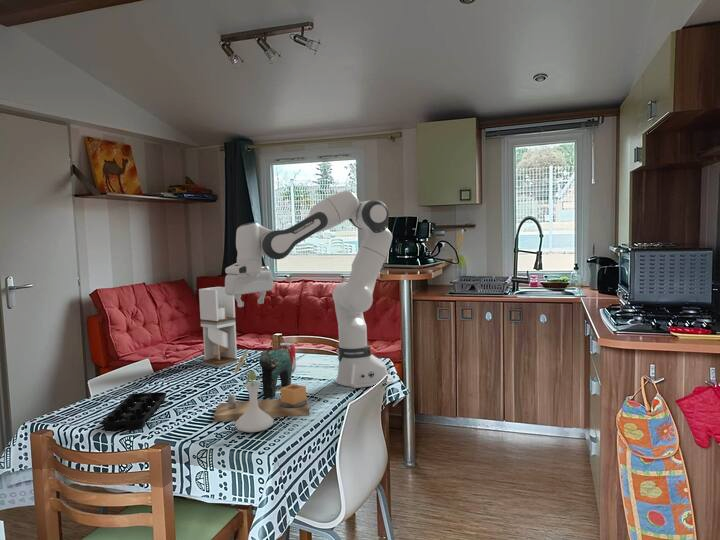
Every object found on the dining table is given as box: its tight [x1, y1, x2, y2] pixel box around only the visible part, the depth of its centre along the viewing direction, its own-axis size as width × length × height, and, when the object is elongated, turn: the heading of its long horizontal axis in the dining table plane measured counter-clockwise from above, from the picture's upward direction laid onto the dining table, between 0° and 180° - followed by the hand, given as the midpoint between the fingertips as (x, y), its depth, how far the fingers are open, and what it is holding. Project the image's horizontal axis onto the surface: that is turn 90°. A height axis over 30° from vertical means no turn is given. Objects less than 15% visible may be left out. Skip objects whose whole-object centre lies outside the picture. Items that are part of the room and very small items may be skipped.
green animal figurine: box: [259, 339, 293, 399], centre depth 191 cm, size 20×6×20 cm, turn 163°
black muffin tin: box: [101, 391, 167, 432], centre depth 170 cm, size 18×30×4 cm, turn 19°
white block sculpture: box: [198, 286, 238, 369], centre depth 236 cm, size 11×11×35 cm
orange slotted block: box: [279, 383, 307, 405], centre depth 171 cm, size 6×6×4 cm
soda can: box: [279, 341, 297, 373], centre depth 220 cm, size 7×7×12 cm
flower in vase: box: [233, 349, 275, 433], centre depth 153 cm, size 13×11×25 cm
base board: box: [213, 388, 310, 422], centre depth 170 cm, size 30×12×7 cm, turn 98°
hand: (251, 305), depth 187 cm, fingers open, 8 cm apart
